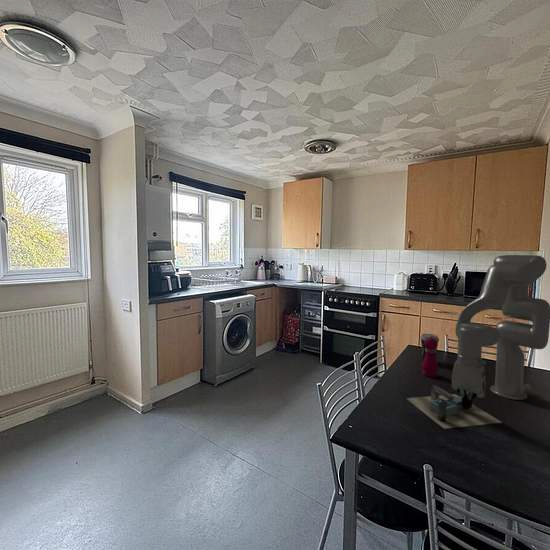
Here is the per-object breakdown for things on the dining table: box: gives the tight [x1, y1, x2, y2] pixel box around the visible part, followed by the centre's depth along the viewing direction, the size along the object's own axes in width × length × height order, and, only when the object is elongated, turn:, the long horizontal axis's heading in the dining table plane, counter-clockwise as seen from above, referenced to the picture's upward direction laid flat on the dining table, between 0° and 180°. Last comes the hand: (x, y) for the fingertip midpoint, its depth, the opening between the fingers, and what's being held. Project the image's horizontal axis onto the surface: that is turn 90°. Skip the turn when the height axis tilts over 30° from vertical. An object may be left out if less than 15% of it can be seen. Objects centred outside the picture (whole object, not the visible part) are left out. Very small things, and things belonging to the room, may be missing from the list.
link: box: [430, 391, 469, 417], centre depth 116 cm, size 18×6×5 cm, turn 114°
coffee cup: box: [419, 333, 440, 362], centre depth 171 cm, size 10×10×15 cm
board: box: [406, 384, 503, 430], centre depth 116 cm, size 23×22×7 cm
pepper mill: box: [421, 336, 439, 378], centre depth 152 cm, size 7×7×20 cm
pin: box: [438, 399, 447, 422], centre depth 109 cm, size 3×3×7 cm
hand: (466, 407), depth 114 cm, fingers closed
